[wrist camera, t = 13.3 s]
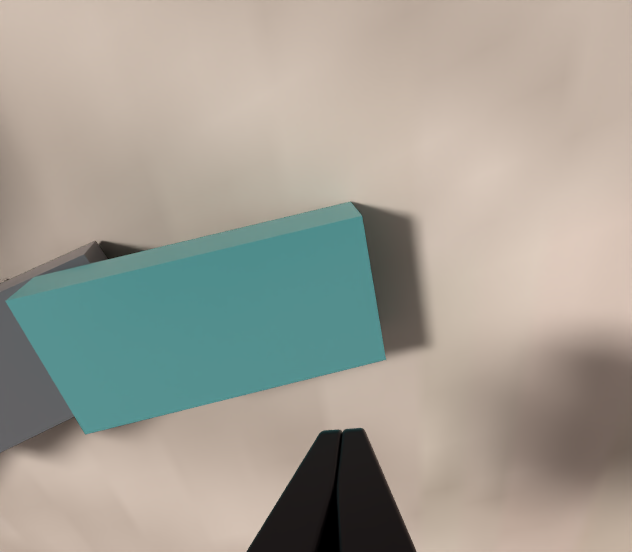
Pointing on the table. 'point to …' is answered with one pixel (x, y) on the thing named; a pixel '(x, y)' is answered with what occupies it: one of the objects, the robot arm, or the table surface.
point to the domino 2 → (206, 318)
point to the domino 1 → (31, 362)
